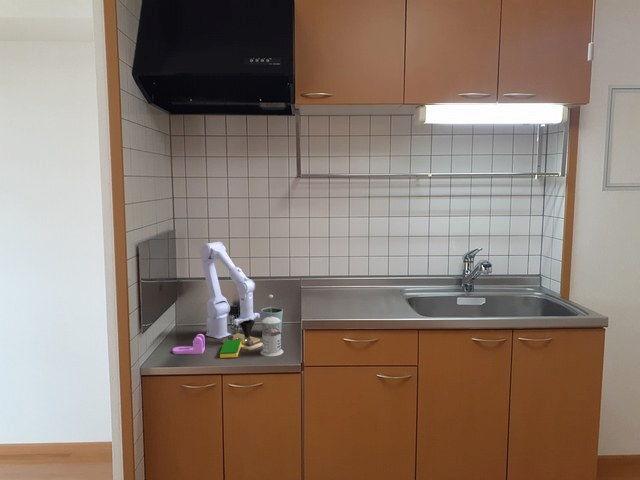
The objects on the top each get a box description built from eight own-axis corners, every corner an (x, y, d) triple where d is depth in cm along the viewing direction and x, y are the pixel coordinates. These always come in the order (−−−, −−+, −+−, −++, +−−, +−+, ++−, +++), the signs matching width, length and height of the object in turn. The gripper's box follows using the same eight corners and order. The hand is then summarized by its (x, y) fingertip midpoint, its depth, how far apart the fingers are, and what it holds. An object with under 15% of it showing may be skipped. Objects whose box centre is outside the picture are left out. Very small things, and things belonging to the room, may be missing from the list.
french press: (262, 357, 202) (260, 298, 199) (258, 347, 213) (256, 291, 210) (285, 354, 205) (284, 296, 202) (280, 345, 216) (279, 290, 213)
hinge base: (263, 345, 217) (263, 338, 217) (249, 350, 210) (249, 344, 210) (235, 337, 228) (235, 331, 227) (221, 342, 221) (221, 336, 220)
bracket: (204, 349, 212) (204, 333, 212) (202, 353, 207) (201, 338, 206) (174, 349, 212) (174, 334, 211) (171, 354, 207) (170, 338, 206)
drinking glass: (259, 332, 234) (258, 308, 233) (279, 330, 238) (278, 306, 237) (265, 339, 225) (264, 313, 223) (286, 336, 229) (285, 311, 227)
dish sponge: (220, 358, 201) (219, 352, 201) (225, 345, 215) (225, 340, 214) (237, 357, 201) (236, 351, 201) (241, 344, 215) (241, 339, 215)
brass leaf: (260, 342, 218) (260, 337, 218) (249, 346, 213) (249, 342, 212) (238, 336, 226) (238, 331, 226) (227, 340, 221) (227, 335, 221)
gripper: (241, 312, 211) (241, 342, 213) (264, 305, 223) (264, 333, 224) (229, 309, 215) (230, 339, 217) (253, 302, 227) (253, 331, 229)
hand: (247, 336), depth 221 cm, fingers closed
